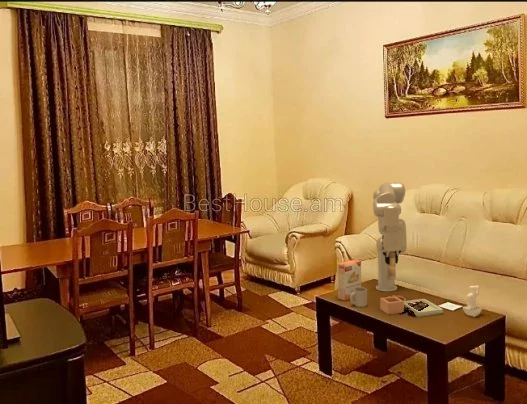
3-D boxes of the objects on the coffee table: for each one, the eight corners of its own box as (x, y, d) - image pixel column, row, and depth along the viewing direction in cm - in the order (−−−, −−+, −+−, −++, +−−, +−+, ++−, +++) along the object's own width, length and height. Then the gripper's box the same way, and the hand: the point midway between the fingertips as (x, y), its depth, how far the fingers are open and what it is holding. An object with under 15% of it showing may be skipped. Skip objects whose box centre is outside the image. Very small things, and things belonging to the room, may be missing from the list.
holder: (380, 308, 274) (380, 298, 273) (395, 307, 276) (395, 296, 275) (388, 314, 265) (388, 303, 264) (403, 312, 267) (403, 301, 267)
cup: (369, 305, 280) (369, 290, 279) (353, 308, 276) (353, 292, 275) (362, 302, 286) (362, 286, 285) (346, 304, 283) (346, 289, 282)
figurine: (461, 315, 260) (461, 286, 258) (470, 310, 266) (471, 282, 264) (474, 318, 254) (474, 289, 252) (484, 314, 260) (484, 285, 258)
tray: (401, 306, 277) (401, 301, 277) (424, 303, 280) (424, 298, 280) (418, 317, 260) (418, 312, 260) (443, 313, 263) (443, 309, 263)
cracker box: (345, 301, 288) (344, 265, 286) (337, 299, 293) (336, 263, 290) (361, 295, 297) (361, 260, 294) (354, 293, 302) (353, 259, 299)
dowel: (386, 277, 270) (386, 251, 268) (393, 277, 271) (393, 251, 269) (389, 279, 266) (389, 253, 264) (397, 279, 267) (396, 252, 265)
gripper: (379, 231, 260) (380, 266, 262) (409, 228, 263) (409, 263, 266) (373, 229, 267) (373, 263, 269) (402, 226, 271) (402, 260, 273)
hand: (391, 263), depth 267 cm, fingers closed on dowel, 4 cm apart
